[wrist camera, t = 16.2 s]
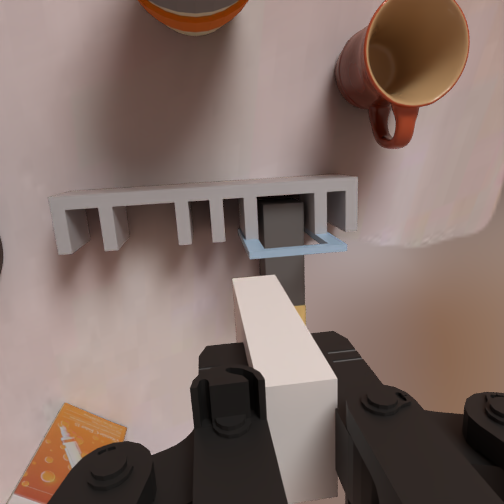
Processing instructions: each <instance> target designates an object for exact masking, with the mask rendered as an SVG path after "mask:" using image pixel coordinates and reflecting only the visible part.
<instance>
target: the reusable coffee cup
mask: <svg viewBox="0 0 504 504" xmlns="http://www.w3.org/2000/svg"><path fill="white" fill-rule="evenodd" d="M138 1H139V2H140V4H141V5H142V6H143V7H144V8H145V9H146V11H147V12H148V13H150V14H151V15H152V16H153V17H155V18H156V19H157V20H158V21H160V22H162V23H164V24H165V25H166V26H168V27H169V28H170V29H172V30H174V31H176V32H178V33H181V34H184V35H189V36H201V35H206V34H209V33H212V32H214V31H216V30H217V29H219V28H221V27H222V26H223V25H224V24H226V23H227V22H229V21H230V20H232V19H233V18H234V17H235V16H236V15H237V14H238V13H239V12H240V11H241V10H242V8H243V7H244V6H245V4H246V3H247V2H248V0H138Z"/></svg>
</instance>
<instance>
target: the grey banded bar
mask: <svg viewBox="0 0 504 504" xmlns="http://www.w3.org/2000/svg"><path fill="white" fill-rule="evenodd" d="M257 212H258V235H259V241H260V243H261V244H262V246H263V247H264V249H268V248H280V247H292V246H304V210H303V202H301V201H299V200H297V199H295V198H279V199H262V200H257ZM266 275H275V276H276V277H277V279H278V281H279V282H280V284H281V286H282V287H283V289H284V291H285V292H286V294H287V296H288V297H289V299H290V301H291V302H292V304H293V306H294V307H295V309H296V311H297V312H298V314H299V316H300V317H301V319H302V320H303V322H304V324H305V325H306V312H305V311H306V306H305V285H304V255H295V256H283V257H271V258H260V276H266Z"/></svg>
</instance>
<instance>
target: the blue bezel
mask: <svg viewBox="0 0 504 504" xmlns="http://www.w3.org/2000/svg"><path fill="white" fill-rule="evenodd" d="M304 232H305V233H307V234H308V235H309V236H310V237H312V238H313V239H314V240H316V241H317V242H318V243H320V244H316V245H304V246H292V247H280V248H268V249H264V247H263V246H262V244H261V243H260V241H259V240H258V239H251V240H246V239H245V237H244V235H243V233H242V231H241V229H240V228H238V234H239V237H240V239H241V241H242V243H243V245H244V248H245V250H246V252H247V254H248V257H249V259H260V258H271V257H283V256H295V255H306V254H318V253H330V252H341V251H347V244H346V243H344V242H343V241H341V240H340V239H338V238H336V237H335V236H333V235H332V234H330V233H328V232H327V233H326V234H314V233H312V232H311V231H310V230H308V229H307V228H305V227H304Z"/></svg>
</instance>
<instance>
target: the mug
mask: <svg viewBox="0 0 504 504" xmlns="http://www.w3.org/2000/svg"><path fill="white" fill-rule="evenodd" d="M468 53H469V30H468V25H467V21H466V19H465V16H464V14H463V12H462V10H461V8H460V7H459V5H458V4H457V3H456V1H455V0H385V1H384V2H383V3H382V4H381V5H380V6H379V8H378V9H377V10H376V12H375V13H374V15H373V17H372V19H371V21H370V23H369V25H368V26H366V27H365V28H364V29H362V30H361V31H359V32H357V33H356V34H355V35H354V36H352V37H351V38H350V40H348V41H347V43H346V45H345V47H344V48H343V50H342V52H341V53H340V55H339V58H338V60H337V64H336V70H335V77H336V83H337V86H338V89H339V91H340V93H341V95H342V96H343V97H344V98H345V100H347V101H348V102H349V103H350V104H351V105H353V106H355V107H358V108H361V109H368V114H369V119H370V123H371V126H372V131H373V135H374V138H375V140H376V142H377V143H378V144H379V145H380V146H381V147H384V148H387V149H399V148H403V147H405V146H406V145H407V144H408V143H409V142H410V140H411V138H412V136H413V132H414V127H415V121H416V118H417V115H418V111H419V107H422V106H427V105H430V104H432V103H434V102H436V101H437V100H439V99H440V98H442V97H443V96H444V95H445V94H447V93H448V92H449V91H450V90H451V89H452V87H453V86H454V85H455V84H456V82H457V81H458V79H459V78H460V76H461V74H462V72H463V70H464V68H465V65H466V62H467V58H468ZM391 107H392V111H393V113H394V116H395V120H396V128H395V133H394V136H393V138H392V137H391V135H390V133H389V131H388V117H389V113H390V109H391Z"/></svg>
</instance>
